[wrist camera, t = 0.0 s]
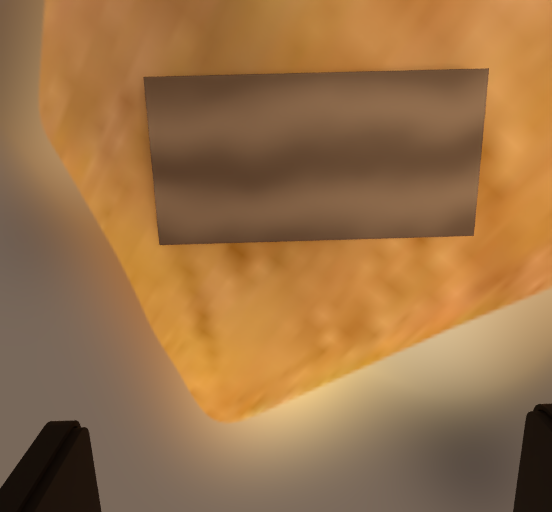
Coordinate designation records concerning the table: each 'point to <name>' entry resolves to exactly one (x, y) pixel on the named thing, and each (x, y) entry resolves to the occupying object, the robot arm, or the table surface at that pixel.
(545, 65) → the table surface
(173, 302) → the table surface
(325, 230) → the board
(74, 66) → the table surface
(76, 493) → the robot arm
